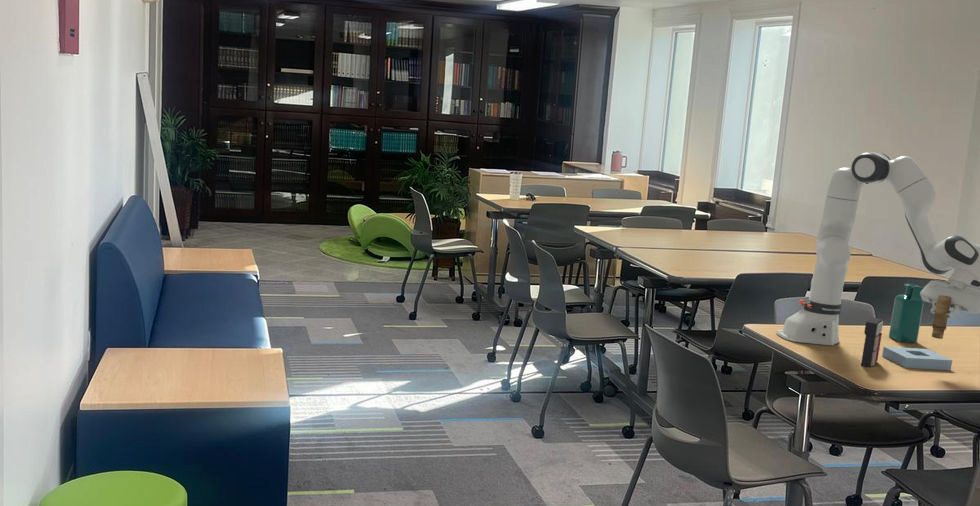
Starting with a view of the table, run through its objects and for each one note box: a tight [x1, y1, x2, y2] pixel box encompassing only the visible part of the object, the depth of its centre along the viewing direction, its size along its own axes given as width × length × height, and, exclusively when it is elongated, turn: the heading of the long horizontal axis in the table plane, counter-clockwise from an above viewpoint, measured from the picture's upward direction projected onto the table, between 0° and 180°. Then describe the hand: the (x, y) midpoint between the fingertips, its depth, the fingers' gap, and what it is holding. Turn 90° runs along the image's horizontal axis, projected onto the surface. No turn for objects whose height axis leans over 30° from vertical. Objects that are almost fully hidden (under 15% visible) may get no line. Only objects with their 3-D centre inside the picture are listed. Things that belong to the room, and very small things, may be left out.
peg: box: [931, 295, 952, 340], centre depth 307 cm, size 4×4×14 cm
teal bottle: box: [888, 283, 925, 344], centre depth 353 cm, size 10×8×22 cm
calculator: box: [860, 316, 884, 368], centre depth 312 cm, size 11×4×15 cm, turn 148°
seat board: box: [881, 346, 953, 371], centre depth 320 cm, size 17×14×4 cm
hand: (940, 314), depth 307 cm, fingers closed on peg, 4 cm apart
